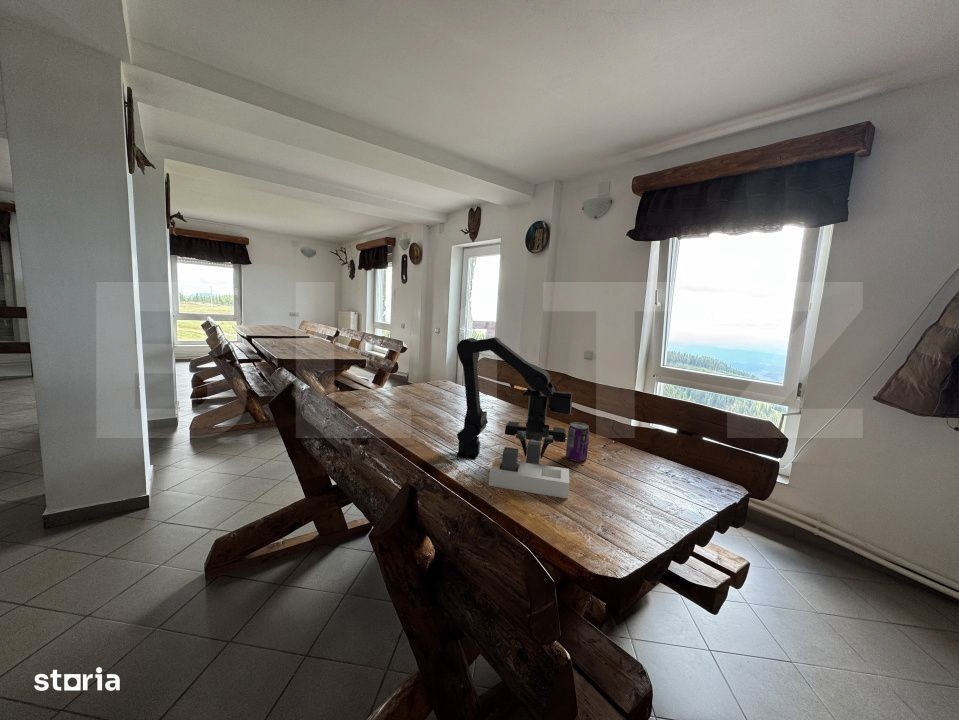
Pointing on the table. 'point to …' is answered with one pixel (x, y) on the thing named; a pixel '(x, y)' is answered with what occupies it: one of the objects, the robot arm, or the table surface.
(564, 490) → the power strip
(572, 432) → the beverage can
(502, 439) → the table surface
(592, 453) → the table surface
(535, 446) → the plug
